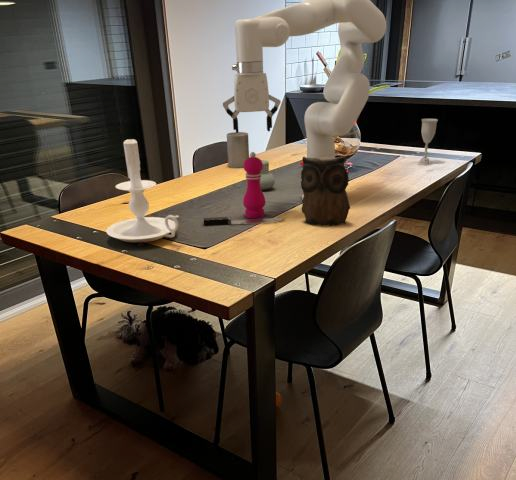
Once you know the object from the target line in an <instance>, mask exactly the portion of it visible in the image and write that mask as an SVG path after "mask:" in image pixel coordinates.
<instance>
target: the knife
mask: <svg viewBox="0 0 516 480" xmlns="http://www.w3.org/2000/svg"><path fill="white" fill-rule="evenodd" d="M231 217H232V216H218V217H217V216H216V217H203V227H207V226H208V227H209V226H225V225H226V226H227V225H231V226H238V225H239V226H240V225H241V226H242V225H257V224H275V223H276V222H283V220H284V218H283V217H272V218H249V219H233V220H232V218H231ZM276 224H277V223H276Z"/></svg>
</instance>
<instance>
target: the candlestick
mask: <svg viewBox="0 0 516 480" xmlns="http://www.w3.org/2000/svg"><path fill="white" fill-rule="evenodd" d="M123 151H124V157H125V163H126V170H127V178H128V179H129V180H128V181H123V182H120V183H118V184H116V185H115V189H116V190H117V189H118V190H119V191H120V190H121V191H125V192H129V193H130V199H129V201H128V208H129V210H130V212H131V213H132V215H134V216H135V218H129V219H125V220H120V221H117V222H115V223H113V224H111V225H110V226H109V227H107V228H106V234H107V235H108V236H109V237H112V238H114V239H117V240H120V241H122V242H126V243H133V244H134V243H137V244H141V243H149V242H154V241H157V240H160V239H162V238H164V237H165V238H175V236H176V232H177V230H178V229H179V224H180V223H179V221H178V218H179V217H180V216H179V215H177V214H176V215H173V214H169V215H166V216H165V217H157V216H146V215H147V213H148V211H149V209H150V204H149V201H148V199H147V198H146V197H145V194H144V191H145V190H148V189H150V188H153V187H156V185H157V182H156V181H153V180H149V179H142V178H141V160H140V153H139V152H140V151H139V145H138V141H137V139H134V138H132V139H131V138H129V139H126V140H124V141H123ZM170 233H171V234H170Z"/></svg>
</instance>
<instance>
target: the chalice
mask: <svg viewBox="0 0 516 480" xmlns="http://www.w3.org/2000/svg"><path fill="white" fill-rule="evenodd" d="M438 121H439V119H437V118H421V131H420V132H421V138H422V140H423V143H424V144H425V145H424V151H423V153H424V155H423V157H421V158H420V160H419V162H418V164H419V166H429V165H431V162H430V158H429V157H428V156H427V155H428V153H429V152H428V149H429V144H430V143H431V142H432V140H433V138H434V137H435V135H436V130H437V123H438Z"/></svg>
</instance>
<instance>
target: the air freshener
mask: <svg viewBox="0 0 516 480" xmlns="http://www.w3.org/2000/svg"><path fill="white" fill-rule="evenodd" d="M260 160H261V161H262V164H263V168H262V170H261V171H260V173H261V178H260V187H261V190H262V191H266V190H269V189H271V188H273V187H274V186H275V183H276V181H275V177H274V174H272V173H271V172H270V163H269V162H270V161H268V160H264V159H263V160H262V159H260Z"/></svg>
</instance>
